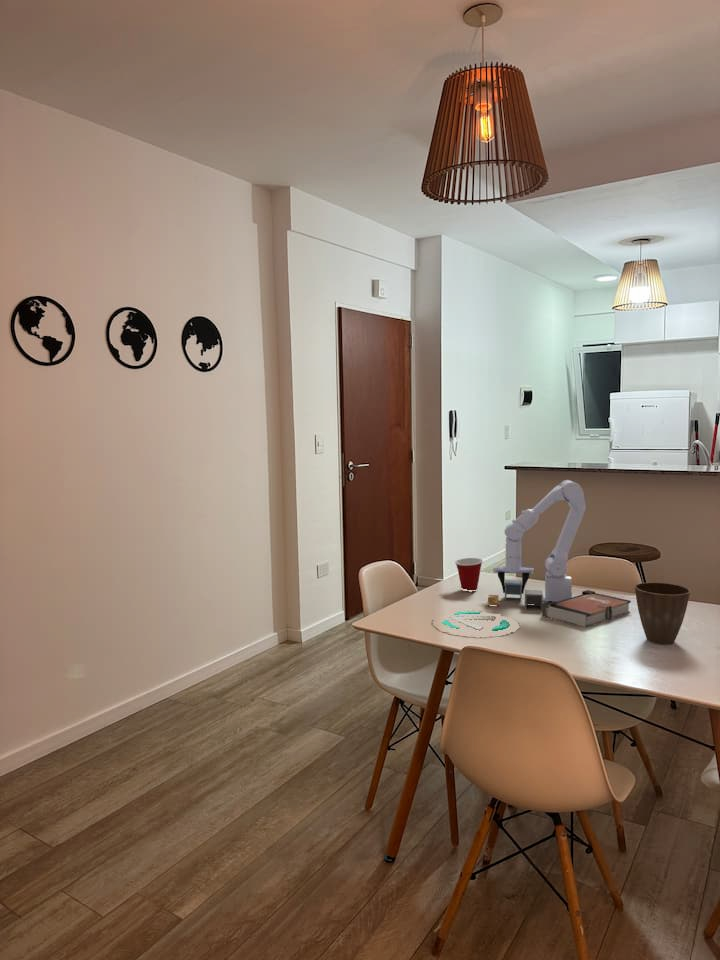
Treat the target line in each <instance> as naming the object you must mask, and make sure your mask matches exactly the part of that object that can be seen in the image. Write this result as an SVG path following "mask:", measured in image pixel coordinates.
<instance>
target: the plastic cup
mask: <svg viewBox="0 0 720 960" xmlns="http://www.w3.org/2000/svg"><path fill="white" fill-rule="evenodd" d="M483 561H484V560H483V559H482V558H479V557H467V558H466V557H465V558H459V559H456V560H455V561H454V564H455V565H456V568H457V572H458V573H457V574H458V579H459V582H460V588H463V589H467V590H476V589H477V590H478V586H479V585H478V584H479V580H480V576H481V575H480V574H481V569H482V563H483Z"/></svg>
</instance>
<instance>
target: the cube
mask: <svg viewBox="0 0 720 960" xmlns="http://www.w3.org/2000/svg"><path fill="white" fill-rule="evenodd" d="M488 605H497V606H498V607H499V595H498V594H489V595H487V606H488Z"/></svg>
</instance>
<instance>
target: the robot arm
mask: <svg viewBox="0 0 720 960" xmlns="http://www.w3.org/2000/svg"><path fill="white" fill-rule="evenodd" d="M584 494H585V493H584V490H583V489H582V487H581V486H580V484H579V483H577V482H574V481H572V480H570V479H566V480H565V479H564V480H562V481H561V482H560V483H559V484H558V485H556V486H554V488H553V489H551V490H550V491H549V492H548V493H547V494H546V495H545V496H544V497H543V498H542V499H541V500H540V501H539V502H538V503H537V504H536V505H535V506H534V507H533V508H527V509H525V510H524V509H523V510H522V511H521V514H520V515H519V516H518V517H517V518H515V519H512V520H511V523H509V524H508V525H507V526H506V527H505V529H504V535H505V536H506V537H505V538H506V539H505V542H506V543H505V566H493V568H492V569H493V570H492V572H493V574H497V578H498V579H499V581H500V583H501V587H502V592H503V594H505V579H506V577H505V576H506V575H505V574H517V575H518V574H519V575H521V580H522V595H525V588H526V584H527V582H528V580H529V579H530V575H534V573H535V568H532V567H524V566H523V567H522V548H523V547H522V538H523V536H524V533H526V532H527V531H528V530H530V529H531V528H532V527H534V525H535V524H536V523H538V521H539V517H540V515H541V514H542V513H544V512H545V511H546V510H547V509H548V508H550V507H551V506H552V505H553V504H555V503H557V502H564V501H565V500H566V502H567V504H568V506H569V511H568V514H567V517H566V518H565V521H564V524H563V525H562V529H561V531H560V534H559V536H558V539H557V541H556V544H555V547H554V548H553V549H552V550H551V553H550V554H549V555H548V556H547V558H546V559H545V560H544V567H545V569H546V572H545V574H544V594H543V595H544V596H543V601H544V602H548V601H552V602H553V603H555V602H558V601H562V600H565V599H569V598H572V596H573V590H572V587H573V586H572V585H573V584H572V582H573V581H572V576H569V575H566V573H567V571H568V570H567V568H568V567H567V563H568V559H569V552H570V550H571V547H572V546H573V545H572V544H573V542H574V541H575V537H576V535H577V532H578V529H579V527H580V524H581V522H582V519H583V517H584V514H585V512H586V509H587V508H586V507H587V506H586V500H585V496H584Z"/></svg>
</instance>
